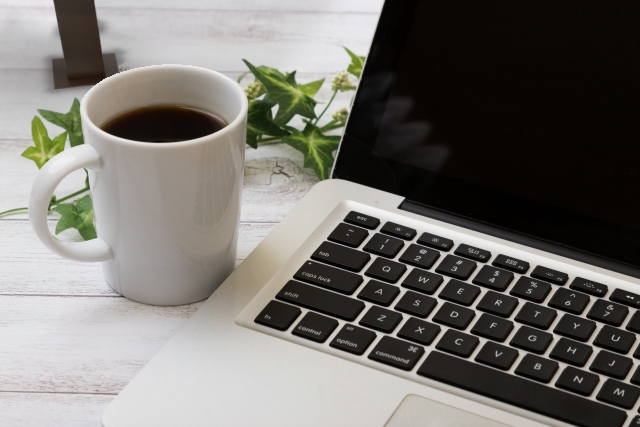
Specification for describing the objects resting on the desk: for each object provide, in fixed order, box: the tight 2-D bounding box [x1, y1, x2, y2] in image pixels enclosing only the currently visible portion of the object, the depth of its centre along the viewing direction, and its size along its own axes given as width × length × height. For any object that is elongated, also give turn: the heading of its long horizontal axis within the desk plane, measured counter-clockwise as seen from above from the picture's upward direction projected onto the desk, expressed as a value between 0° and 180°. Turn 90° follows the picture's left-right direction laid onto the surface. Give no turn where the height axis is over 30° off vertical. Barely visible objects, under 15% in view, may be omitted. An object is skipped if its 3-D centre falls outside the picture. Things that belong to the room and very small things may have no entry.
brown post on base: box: [51, 0, 120, 90], centre depth 80 cm, size 14×7×18 cm, turn 17°
